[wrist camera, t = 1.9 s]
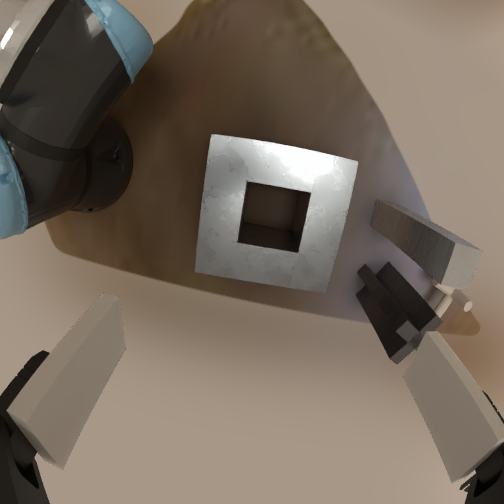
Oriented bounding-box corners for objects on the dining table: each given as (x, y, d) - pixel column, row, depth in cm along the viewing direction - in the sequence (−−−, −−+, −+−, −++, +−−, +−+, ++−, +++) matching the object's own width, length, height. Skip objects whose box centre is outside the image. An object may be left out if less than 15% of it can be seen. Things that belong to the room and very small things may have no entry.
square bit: (370, 224, 40) (440, 285, 21) (376, 199, 38) (455, 242, 20) (392, 230, 40) (468, 289, 21) (399, 205, 38) (482, 250, 20)
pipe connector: (438, 310, 45) (463, 340, 35) (406, 291, 43) (432, 322, 34) (466, 266, 41) (497, 290, 32) (437, 242, 40) (470, 265, 31)
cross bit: (344, 285, 43) (376, 348, 28) (377, 250, 41) (426, 301, 26) (372, 309, 45) (407, 372, 30) (403, 278, 43) (451, 332, 28)
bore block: (208, 246, 42) (194, 272, 34) (223, 137, 36) (211, 134, 28) (314, 264, 42) (325, 293, 34) (338, 158, 37) (358, 161, 28)
